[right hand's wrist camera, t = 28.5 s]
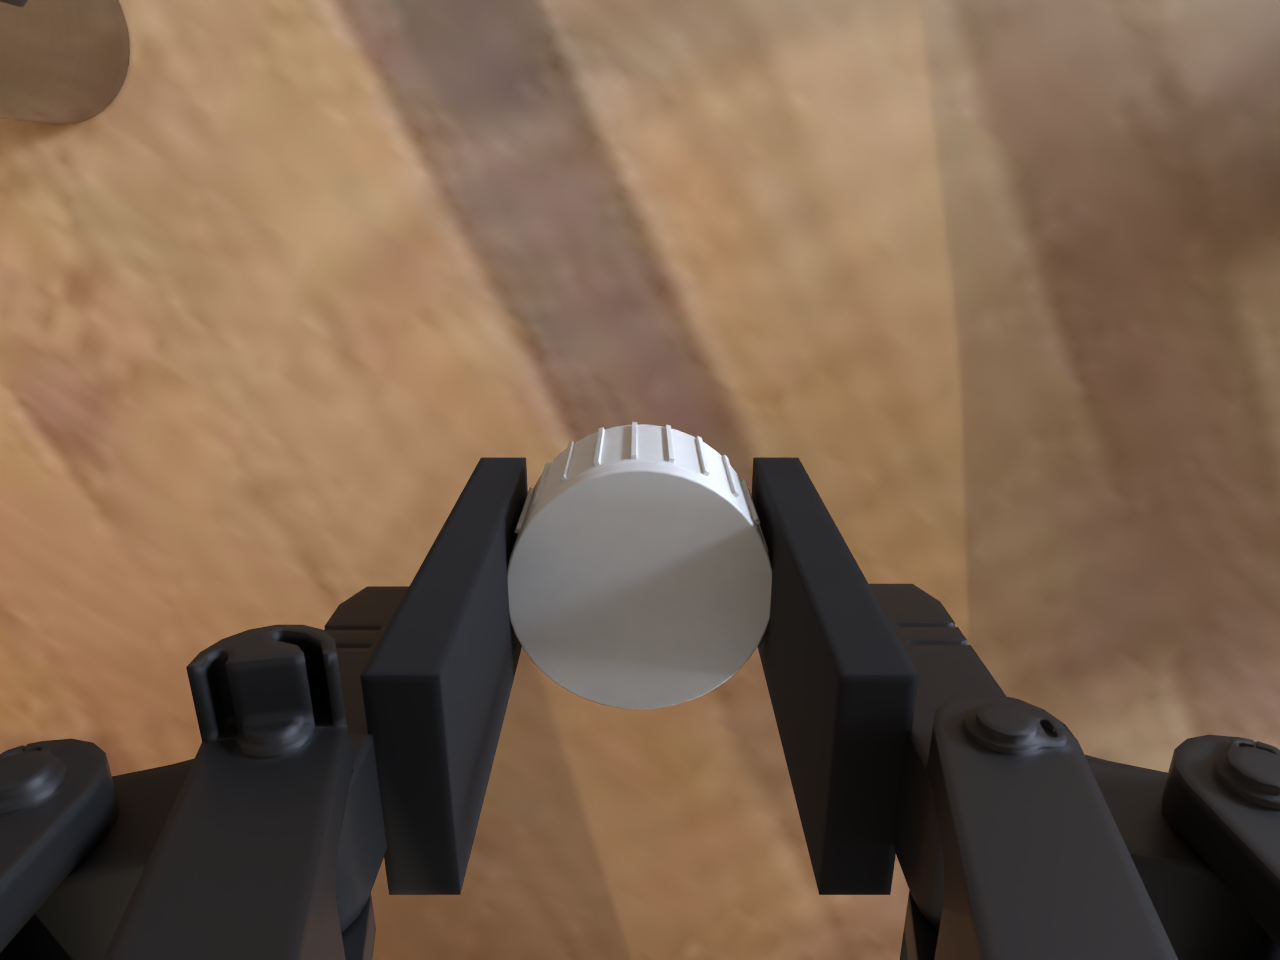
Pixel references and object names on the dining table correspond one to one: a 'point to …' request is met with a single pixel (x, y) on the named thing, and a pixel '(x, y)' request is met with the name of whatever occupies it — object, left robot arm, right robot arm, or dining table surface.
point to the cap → (639, 569)
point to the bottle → (61, 59)
